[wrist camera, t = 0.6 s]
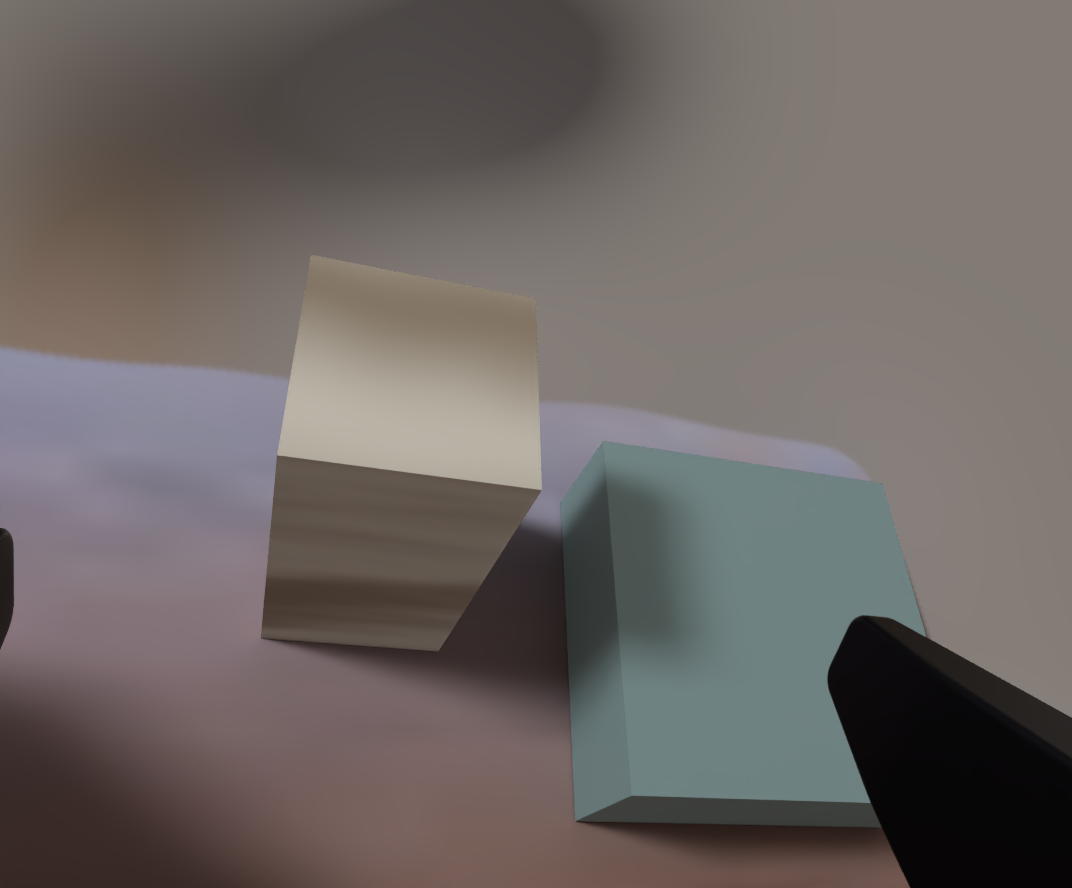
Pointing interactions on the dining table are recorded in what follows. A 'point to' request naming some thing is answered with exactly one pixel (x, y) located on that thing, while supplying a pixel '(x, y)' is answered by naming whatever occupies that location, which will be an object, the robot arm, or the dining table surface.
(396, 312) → the cream block
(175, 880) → the dining table surface
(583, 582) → the base block
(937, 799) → the robot arm
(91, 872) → the dining table surface
